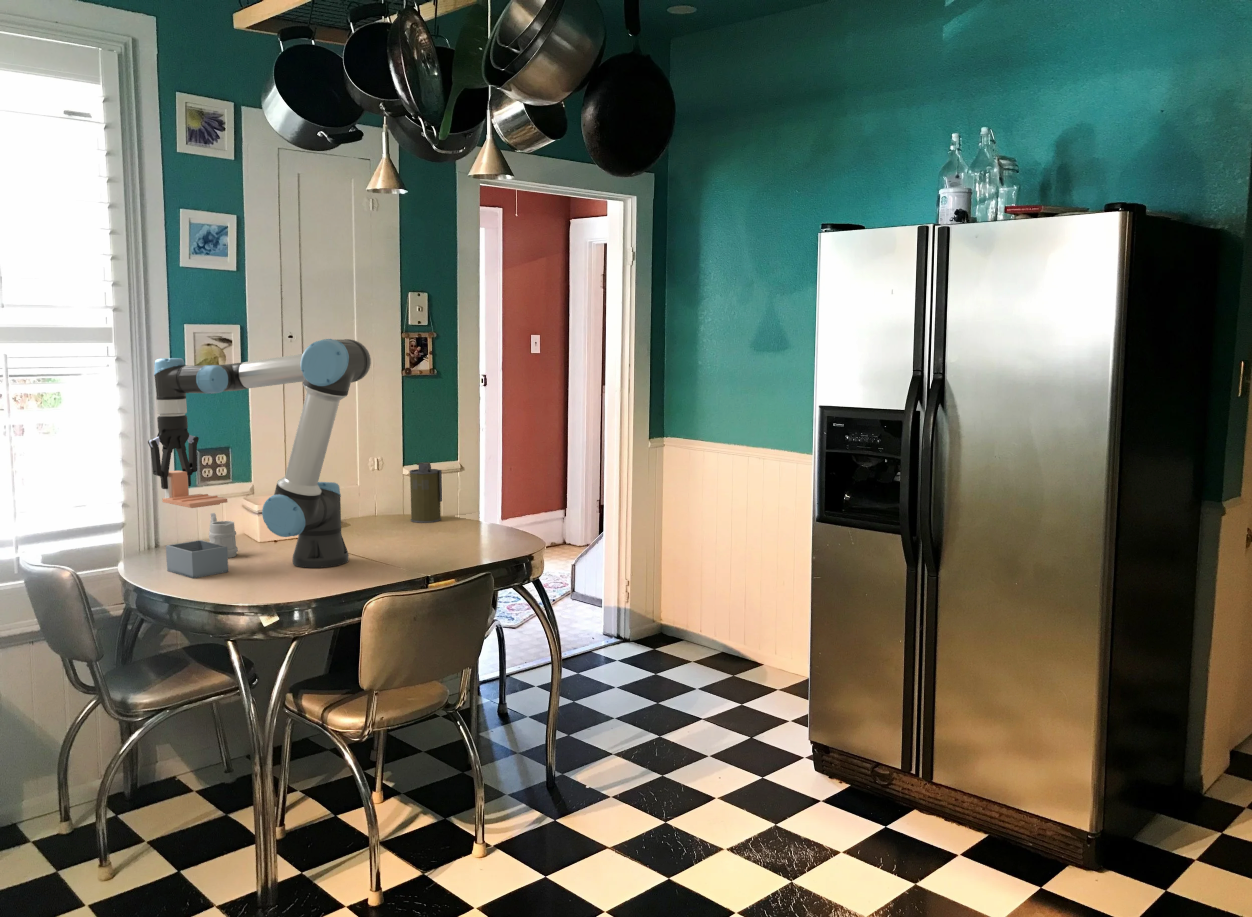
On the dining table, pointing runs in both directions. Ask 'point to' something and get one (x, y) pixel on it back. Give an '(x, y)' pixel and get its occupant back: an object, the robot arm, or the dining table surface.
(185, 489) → the lid
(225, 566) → the tub
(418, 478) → the canister
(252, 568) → the dining table surface
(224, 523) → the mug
